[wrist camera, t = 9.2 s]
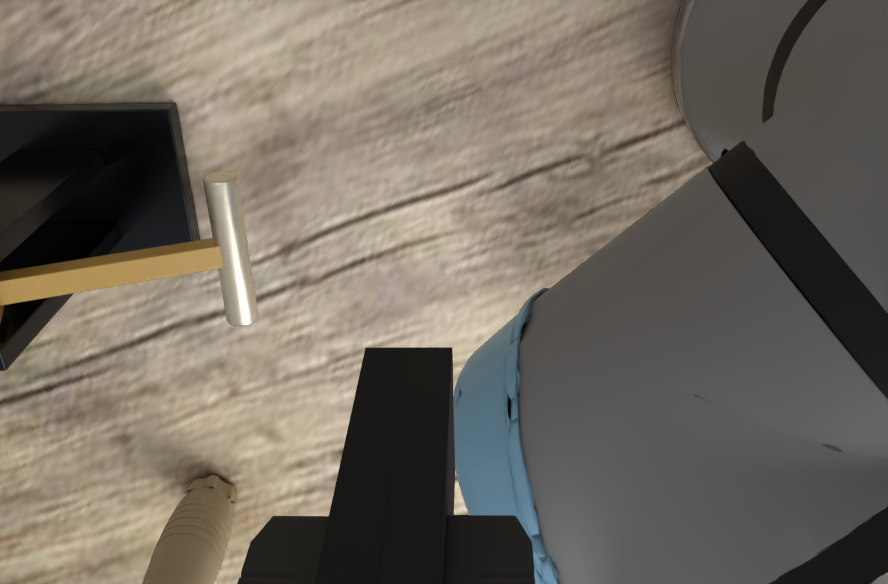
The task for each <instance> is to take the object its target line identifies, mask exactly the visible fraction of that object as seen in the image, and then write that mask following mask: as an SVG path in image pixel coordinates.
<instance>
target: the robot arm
mask: <svg viewBox="0 0 888 584" xmlns="http://www.w3.org/2000/svg"><path fill="white" fill-rule="evenodd" d="M671 66H672V79H673V86H674V92H675V96H676V100H677V103H678V107H679V109H680V112H681V114H682V117H683V119H684V121H685V123H686V125H687V127H688V129H689V131H690V133H691V134H692V136H693V137H694V139H695V140H696V142H697V143H698V144H699V146H700V147H701V149H702V150H703V151H704V153H705V154H706V155H707V157H708V158H709V159H710V160H711V161H712V163H713V164H712V165H710V166H709V167H706V168H705V169H703V170H702V171H701V172H700V173H698V174H697V175H696V176H694V177H693V178H692V179H691V180H689V181H688V182H687V183H685V184H684V185H683V186H682V187H680V188H679V189H678V190H676V191H675V192H674V193H672V194H671V195H670V196H669V197H667V198H666V199H665V200H663V201H662V202H661V203H660V204H658V205H657V206H656V207H654V208H653V209H652V210H651V211H649V212H648V213H647V214H645V215H644V216H643V217H642V218H640V219H639V220H638V221H636V222H635V223H634V224H632V225H631V226H630V227H629V228H627V229H626V230H625V231H623V232H622V233H621V234H620V235H618V236H617V237H616V238H614V239H613V240H612V241H611V242H609V243H608V244H607V245H605V246H604V247H603V248H601V249H600V250H599V251H598V252H596V253H595V254H594V255H592V256H591V257H590V258H589V259H587V260H586V261H585V262H583V263H582V264H581V265H580V266H578V267H577V268H576V269H574V270H573V271H572V272H571V273H569V274H568V275H567V276H565V277H564V278H563V279H561V280H560V281H559V282H558V283H556V284H555V285H554V286H552V287H551V288H550V289H548V288H543V289H541V290H539V291H538V292H536V293H534V294H533V295H532V296H531V297H530V298H529V299H528V300H527V301H526V302H525V303H524V305H523V307H522V308H521V310H520V312H519V313H518V314H517V315H516V316H515V317H514V318H513V319H512V320H510V321H509V322H508V323H507V324H506V325H505V326H504V327H502V328H501V329H500V330H499V331H498V332H497V333H496V334H494V335H493V336H492V337H491V338H490V339H489V340H488V341H486V342H485V343H484V344H483V345H482V346H481V347H480V348H478V349H477V350H476V351H475V352H474V353H473V355H472V356H471V357H470V358H469V359H468V361H467V362H466V364H465V366H464V367H463V369H462V371H461V373H460V375H459V377H458V380H457V383H456V387H455V392H454V397H453V360H452V348H366V349H365V353H364V358H363V362H362V367H361V372H360V376H359V381H358V385H357V390H356V395H355V399H354V404H353V408H352V413H351V418H350V422H349V427H348V431H347V436H346V440H345V445H344V450H343V454H342V459H341V463H340V468H339V473H338V477H337V482H336V486H335V491H334V496H333V500H332V505H331V509H330V514H329V516H273V517H272V518H271V519H270V521H269V522H268V523H267V524H266V525H265V526H264V528H263V529H262V530H261V531H260V532H259V533H258V534H257V536H256V537H255V538H254V539H253V540H252V541H251V543H250V547H249V550H248V553H247V556H246V559H245V562H244V565H243V568H242V572H241V578H239V581H238V584H888V0H683V1H682V4H681V6H680V9H679V12H678V16H677V20H676V24H675V28H674V35H673V42H672V56H671ZM455 469H456V474H457V478H458V482H459V486H460V489H461V493H462V496H463V499H464V502H465V505H466V508H467V510H468V513H469V515H454V488H455Z"/></svg>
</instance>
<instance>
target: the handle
mask: <svg viewBox="0 0 888 584" xmlns="http://www.w3.org/2000/svg"><path fill="white" fill-rule="evenodd" d="M185 493H186V496H185V497H184V498H183V499H182V500H181V502H180V503H179V504H178V506H177V507H176V509H175V510H174V512H173V514H172V515H171V517H170V519H169V521H168V523H167V524H166V526H165V528H164V530H163V532H162V534H161V536H160V539H159V541H158V543H157V545H156V548H155V550H154V552H153V555H152V558H151V561H150V564H149V566H148V569H147V572H146V575H145V578H144V580H143V583H142V584H214V582H215V580H216V577H217V575H218V573H219V570H220V567H221V564H222V561H223V558H224V555H225V552H226V549H227V545H228V542H229V538H230V534H231V529H232V522H233V513H234V504H235V501H236V495H237V491H236V489H235V488H234V486H233V485H231V484H227V483H225V482H224V481H222V480H221V479H220V478H219V477H218V476H215V475H210V476H209V477H208V478H204V479H195V480H194V481H193V482H192V483H191V484H190V485H189V487H188V488H187V490H186V492H185Z"/></svg>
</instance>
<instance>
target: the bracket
mask: <svg viewBox="0 0 888 584" xmlns="http://www.w3.org/2000/svg"><path fill="white" fill-rule="evenodd" d="M198 240H200V237H199V231H198V225H197V220H196V214H195V208H194V203H193V197H192V191H191V186H190V180H189V174H188V169H187V163H186V157H185V151H184V146H183V140H182V134H181V129H180V123H179V117H178V112H177V106H176V103H137V104H67V105H0V272H3V271H9V270H16V269H22V268H28V267H34V266H41V265H47V264H53V263H60V262H66V261H72V260H78V259H85V258H91V257H97V256H104V255H110V254H116V253H122V252H129V251H135V250H141V249H148V248H154V247H160V246H166V245H173V244H179V243H185V242H192V241H198ZM73 294H74V293H72V294H66V295H60V296H54V297H48V298H42V299H36V300H30V301H24V302H19V303H13V304H7V305H4V309H3V314H2V318H1V323H0V371H5V370H7V369H8V368H9V366H10V365H11V364H12V363H13V362H14V361H15V360H16V358H17V357H18V356H19V355H20V354H21V353H22V352H23V350H24V349H25V348H26V347H27V346H28V345H29V344H30V342H31V341H32V340H33V339H34V338H35V337H36V336H37V335H38V333H39V332H40V331H41V330H42V329H43V328H44V327H45V325H46V324H47V323H48V322H49V321H50V320H51V319H52V317H53V316H54V315H55V314H56V313H57V312H58V311H59V309H60V308H61V307H62V306H63V305H64V304H65V303H66V301H67V300H68V299H69V298H70V297H71V296H72V295H73Z"/></svg>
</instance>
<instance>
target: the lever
mask: <svg viewBox="0 0 888 584" xmlns="http://www.w3.org/2000/svg"><path fill="white" fill-rule="evenodd" d="M203 182H204V188H205V194H206V200H207V205H208V211H209V217H210V223H211V229H212V235H213V238H210V239H204V240H198V241H192V242H185V243H179V244H173V245H166V246H160V247H154V248H148V249H141V250H135V251H129V252H122V253H116V254H110V255H104V256H97V257H91V258H85V259H78V260H72V261H66V262H60V263H53V264H47V265H41V266H34V267H28V268H22V269H16V270H9V271H3V272H0V323H1V318H2V314H3V309H4V305H7V304H13V303H19V302H24V301H30V300H36V299H42V298H48V297H54V296H60V295H66V294H72V293H78V292H83V291H89V290H95V289H101V288H107V287H113V286H119V285H125V284H131V283H137V282H143V281H148V280H154V279H160V278H166V277H172V276H178V275H184V274H190V273H196V272H202V271H207V270H213V269H218V271H219V277H220V283H221V289H222V295H223V301H224V307H225V312H226V318H227V322H228V323H229V324H231V325H234V326H244V325H249V324H251V323H253V322H255V321H256V320H257V318H258V310H257V303H256V296H255V289H254V282H253V276H252V269H251V262H250V255H249V249H248V242H247V235H246V228H245V221H244V215H243V208H242V201H241V194H240V187H239V181H238V175H237V174H236V173H235V172H231V171H218V172H213V173H210V174H208V175H206V176H205V177H204V179H203Z"/></svg>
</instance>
